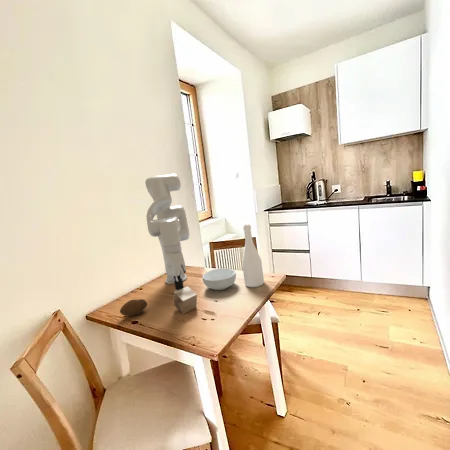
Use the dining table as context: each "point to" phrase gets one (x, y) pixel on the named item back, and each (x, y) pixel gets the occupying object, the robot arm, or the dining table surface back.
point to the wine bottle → (251, 261)
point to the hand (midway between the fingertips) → (179, 288)
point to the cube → (185, 299)
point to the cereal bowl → (219, 278)
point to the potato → (133, 307)
